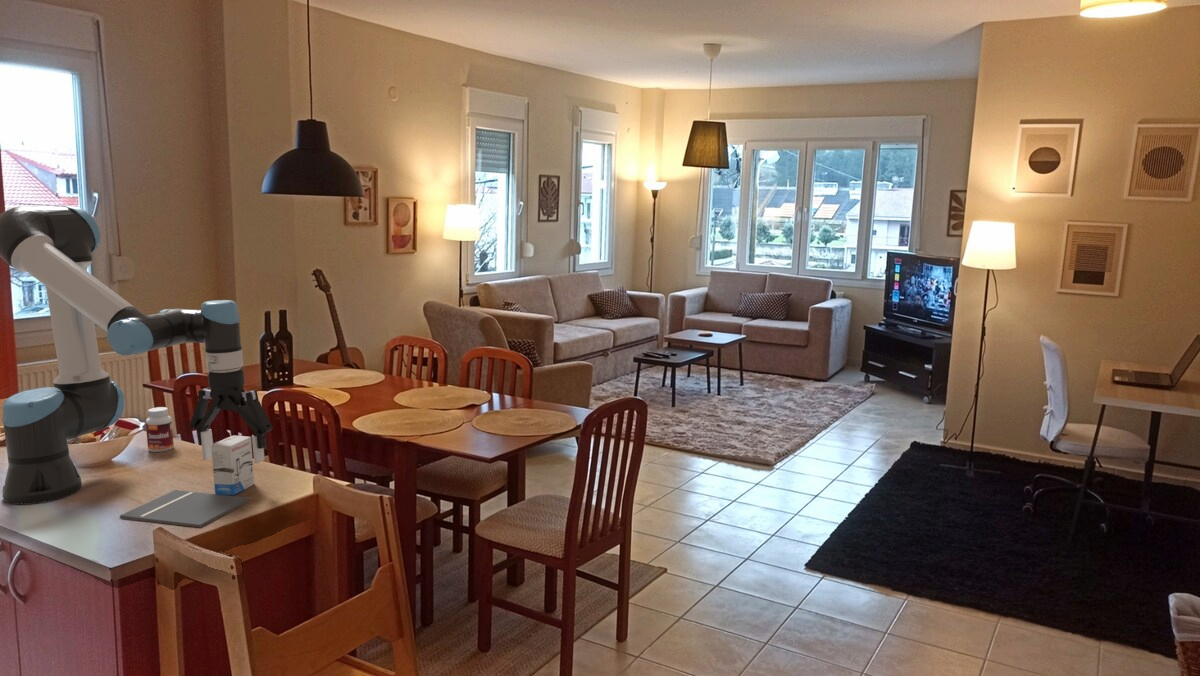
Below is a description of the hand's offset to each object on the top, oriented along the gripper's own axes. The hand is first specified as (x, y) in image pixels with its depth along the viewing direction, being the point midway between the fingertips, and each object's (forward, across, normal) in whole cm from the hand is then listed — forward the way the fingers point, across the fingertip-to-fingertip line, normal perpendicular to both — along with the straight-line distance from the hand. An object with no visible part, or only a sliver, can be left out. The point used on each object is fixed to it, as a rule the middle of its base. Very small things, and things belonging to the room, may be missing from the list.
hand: (233, 460), depth 196 cm
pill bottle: (+7, -40, +22) cm, 47 cm away
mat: (+7, -2, -13) cm, 15 cm away
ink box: (+7, -1, 0) cm, 7 cm away
